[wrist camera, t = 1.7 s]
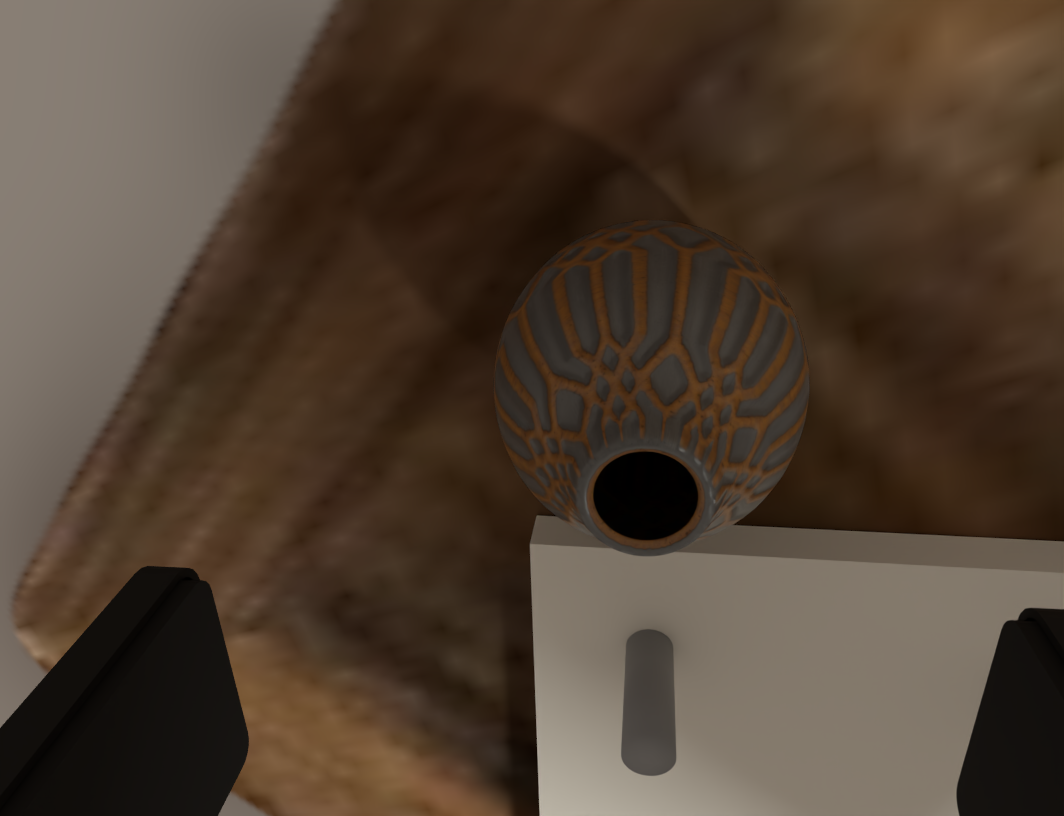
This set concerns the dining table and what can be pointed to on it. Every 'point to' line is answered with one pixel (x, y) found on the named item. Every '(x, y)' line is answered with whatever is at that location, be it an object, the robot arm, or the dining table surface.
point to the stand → (769, 668)
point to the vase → (651, 385)
